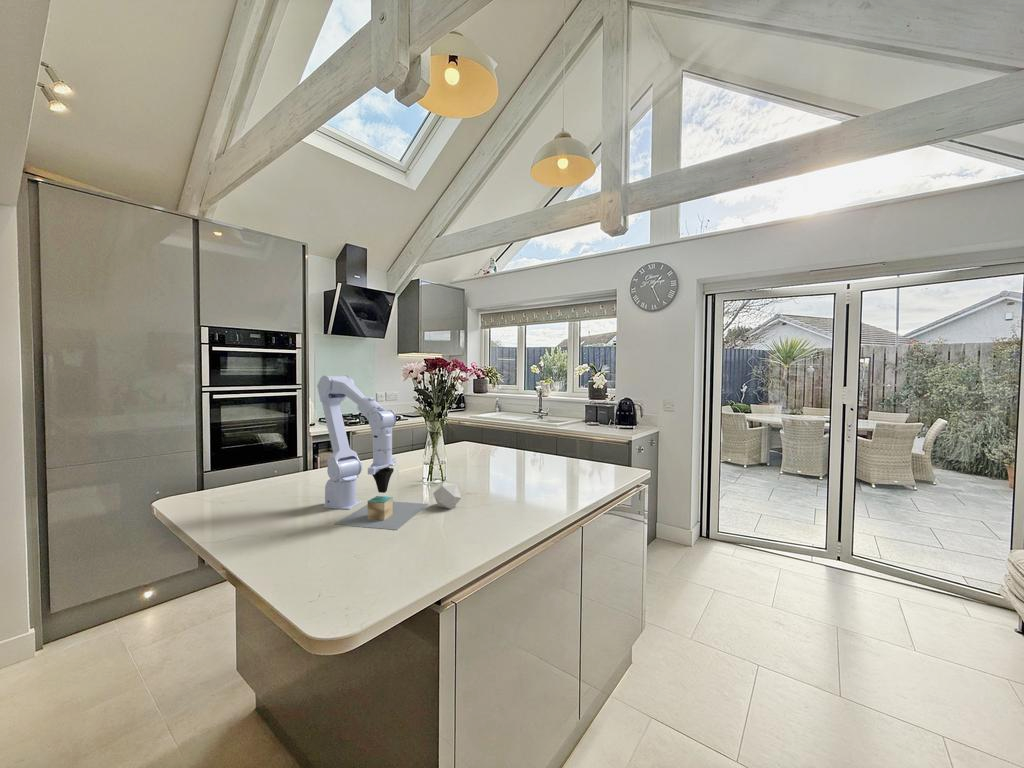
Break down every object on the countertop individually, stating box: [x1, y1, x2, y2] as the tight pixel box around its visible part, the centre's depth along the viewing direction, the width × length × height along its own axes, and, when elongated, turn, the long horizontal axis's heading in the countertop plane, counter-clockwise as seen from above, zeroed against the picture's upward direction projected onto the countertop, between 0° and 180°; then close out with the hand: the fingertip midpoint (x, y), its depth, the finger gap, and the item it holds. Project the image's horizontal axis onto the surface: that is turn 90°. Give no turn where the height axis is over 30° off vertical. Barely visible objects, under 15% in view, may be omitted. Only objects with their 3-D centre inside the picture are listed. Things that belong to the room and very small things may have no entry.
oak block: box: [367, 495, 394, 520], centre depth 132 cm, size 6×6×6 cm
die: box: [432, 482, 462, 510], centre depth 142 cm, size 8×9×10 cm
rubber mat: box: [333, 500, 429, 531], centre depth 135 cm, size 20×24×1 cm
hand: (382, 492), depth 133 cm, fingers closed
